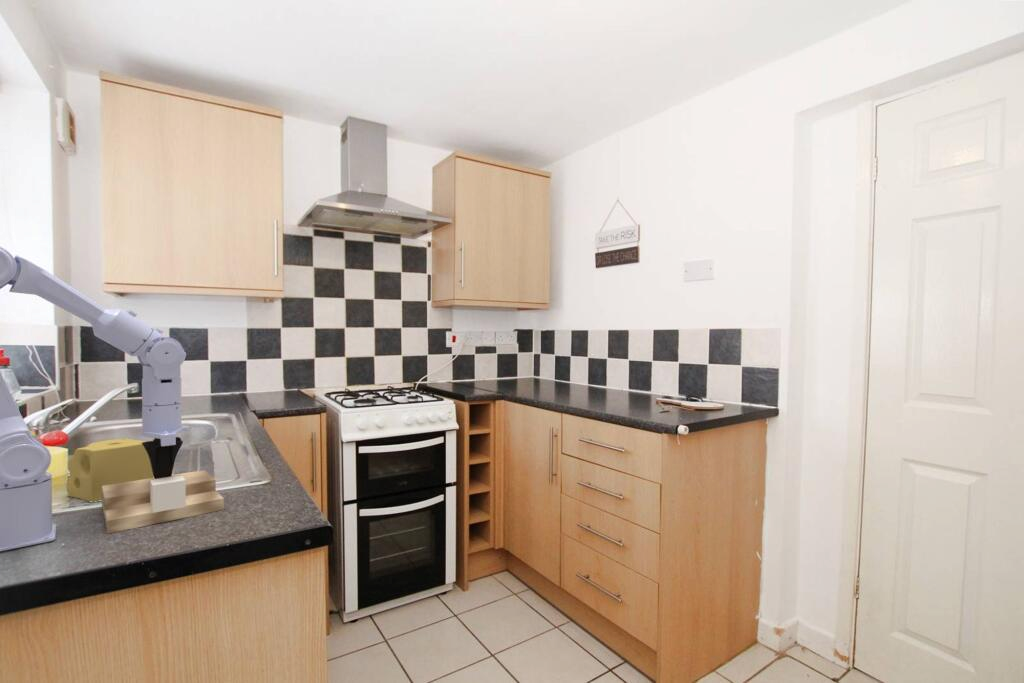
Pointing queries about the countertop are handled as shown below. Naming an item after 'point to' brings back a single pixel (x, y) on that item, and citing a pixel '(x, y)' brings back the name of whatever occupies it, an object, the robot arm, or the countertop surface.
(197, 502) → the step
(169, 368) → the robot arm
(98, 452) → the cheese
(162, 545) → the countertop surface
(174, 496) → the white cube
